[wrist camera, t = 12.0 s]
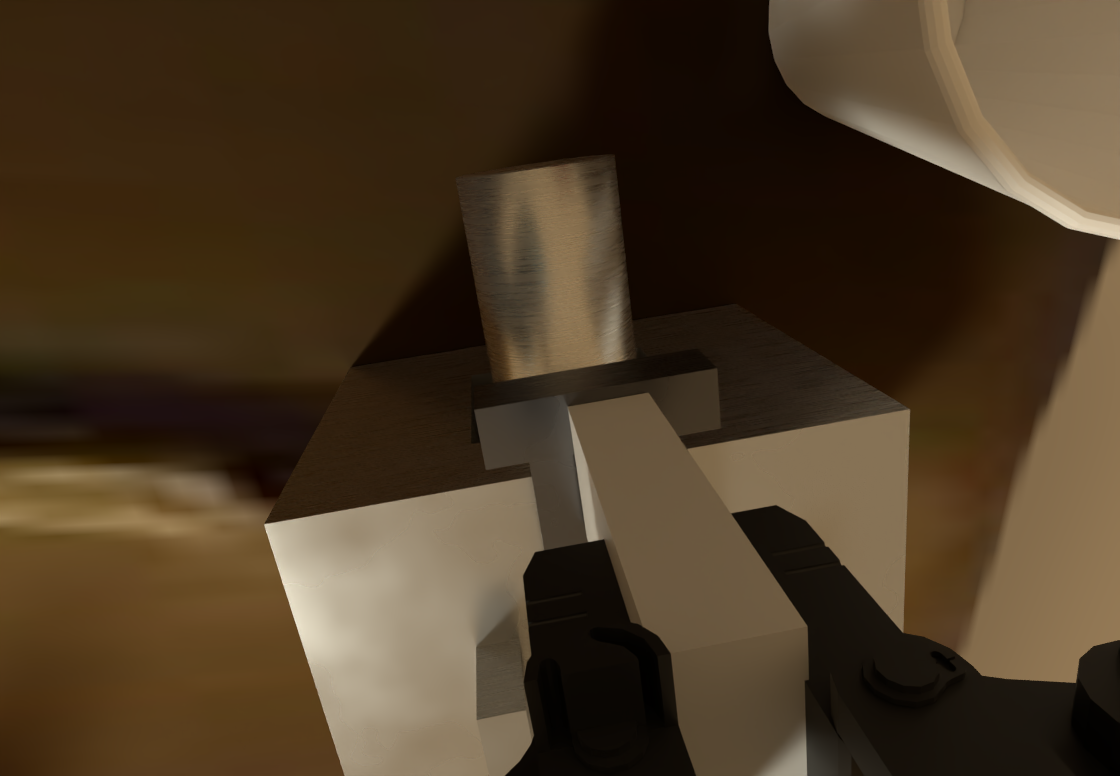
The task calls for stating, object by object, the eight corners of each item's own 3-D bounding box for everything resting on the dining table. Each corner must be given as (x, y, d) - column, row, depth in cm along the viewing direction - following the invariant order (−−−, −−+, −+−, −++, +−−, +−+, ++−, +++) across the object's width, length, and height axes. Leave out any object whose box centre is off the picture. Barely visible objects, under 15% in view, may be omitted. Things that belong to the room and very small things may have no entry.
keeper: (473, 384, 14) (473, 412, 12) (695, 346, 14) (719, 370, 13) (535, 704, 17) (540, 753, 15) (718, 667, 17) (738, 713, 16)
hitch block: (350, 367, 25) (229, 586, 13) (735, 303, 26) (976, 449, 13) (409, 602, 28) (360, 958, 16) (748, 539, 29) (951, 830, 17)
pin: (417, 179, 21) (393, 193, 15) (633, 146, 21) (697, 147, 15) (513, 664, 27) (526, 817, 20) (680, 632, 27) (740, 772, 21)
